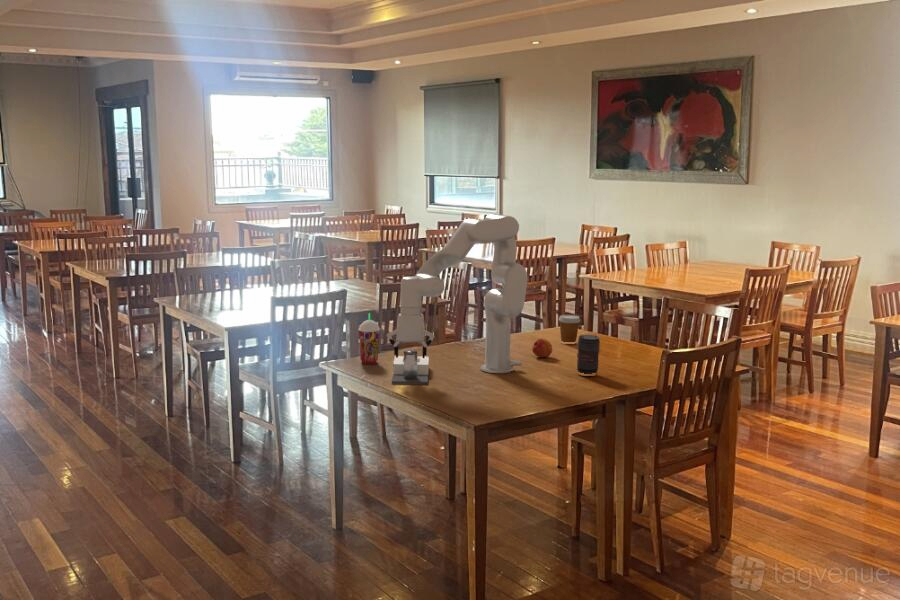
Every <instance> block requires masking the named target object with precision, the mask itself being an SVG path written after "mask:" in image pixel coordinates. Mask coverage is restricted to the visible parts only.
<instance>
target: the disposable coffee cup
mask: <svg viewBox="0 0 900 600" xmlns="http://www.w3.org/2000/svg"><path fill="white" fill-rule="evenodd" d="M558 321H559V331H560V341H563V342H575V341H576V342H577V338H578V331H579V324H580V322H581V318H580V316H579V315H575V314H562V315H559V317H558Z"/></svg>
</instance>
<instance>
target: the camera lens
mask: <svg viewBox="0 0 900 600" xmlns="http://www.w3.org/2000/svg"><path fill="white" fill-rule="evenodd" d="M600 343H601V342H600V336H597V335H594V334H580V335H579V336H578V340H577V355H576V357H577V362H576V363H577V364H576V367H577V368H576V369H577V370H576V371H577V372H580V373H584V374H592V373H596V374H597V373H598V371H599V370H598V369H599V354H600V347H601V346H600Z"/></svg>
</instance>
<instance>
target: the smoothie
mask: <svg viewBox="0 0 900 600" xmlns="http://www.w3.org/2000/svg"><path fill="white" fill-rule="evenodd" d="M367 315H368V316H367V317H368V319H367V320H364V321H363V322H362V323H361V324H360V326H359V328H358V338H359V355H360V361H361V363H362V364H363V365H368V364H371V365H375V364H377V361H378V360H379V348H380V347H379V346H380V334H381V333H380V332H381V331H380V330H381V328H380V327H379V324H378V323H377V322H376V321H375V320H372V319H371V312H368V314H367Z"/></svg>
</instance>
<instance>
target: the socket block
mask: <svg viewBox="0 0 900 600" xmlns="http://www.w3.org/2000/svg"><path fill="white" fill-rule="evenodd" d="M429 361H430V360H429V356H425V357H424V358H423V355H421V356H418V360H417V375H428V376H429V366H430V364H429V363H430V362H429ZM392 365H393V368H392V369H393V370H392V371H393V373H392V375H393V374H404V355H398V357H397V358H396V355H394V359H393V364H392Z"/></svg>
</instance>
